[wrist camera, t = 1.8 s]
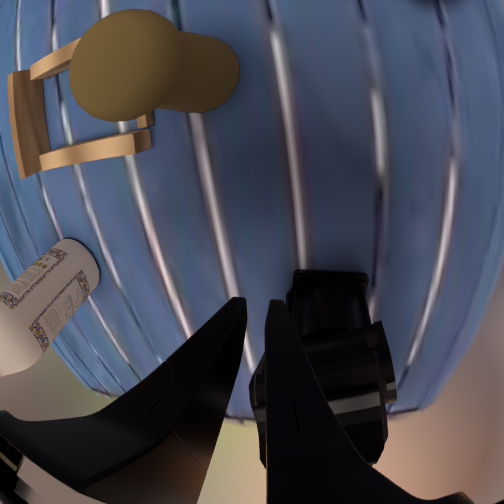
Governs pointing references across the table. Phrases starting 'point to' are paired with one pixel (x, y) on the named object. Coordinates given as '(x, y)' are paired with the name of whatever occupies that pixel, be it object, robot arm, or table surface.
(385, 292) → the table surface
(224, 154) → the table surface
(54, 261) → the bath foam
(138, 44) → the cork
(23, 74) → the cradle
